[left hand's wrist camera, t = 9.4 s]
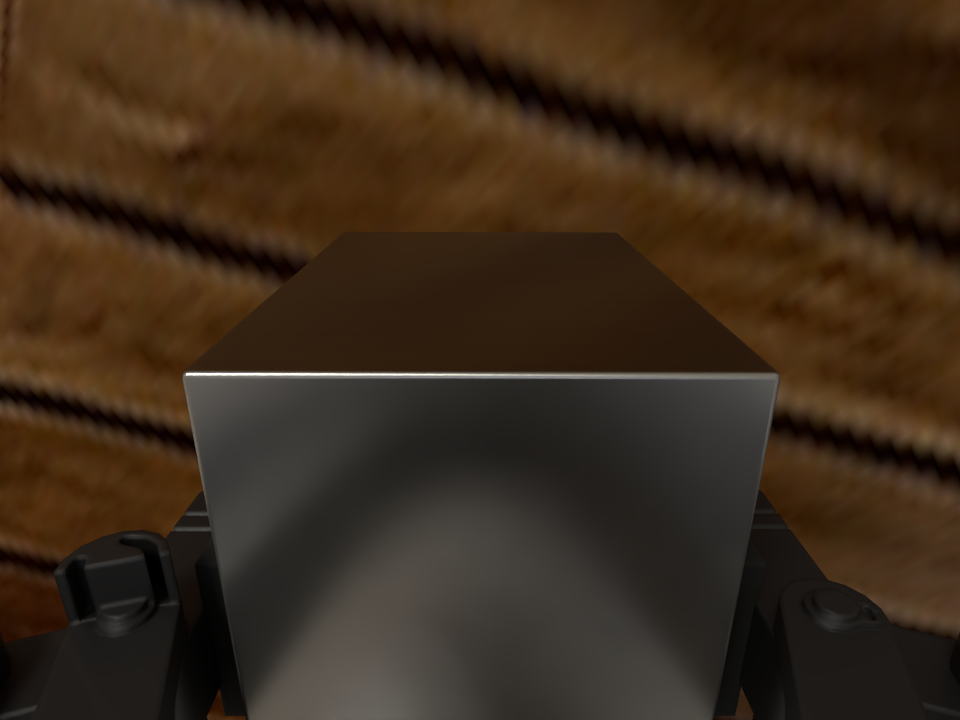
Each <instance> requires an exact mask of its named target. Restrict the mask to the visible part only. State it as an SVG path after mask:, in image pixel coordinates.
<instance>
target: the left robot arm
mask: <svg viewBox="0 0 960 720" xmlns="http://www.w3.org/2000/svg"><path fill="white" fill-rule="evenodd" d="M53 573H54V576H55V580H56V583H57V586H58V589H59V592H60V596H61V599H62V602H63V605H64V609H65V612H66V615H67V618H68V622H69V626H68V628H64V629H61V630H58V631H54V632H50V633H45V634H41V635H36V636H32V637H28V638H23V639H19V640H15V641H10V642H6V643H4V640H3V638H2V635H1V632H0V720H207V715H208V713H209V710H210V708H211V706H212V704H213V702H214V699H215V697H216V695H217V693H218V691H219V688H220V692H221V697H222V702H223V707H224V711H225V716H246V714H245V709H244V704H243V698H242V693H241V688H240V682H239V677H238V672H237V666H236V661H235V656H234V650H233V645H232V640H231V634H230V629H229V623H228V618H227V613H226V607H225V602H224V597H223V591H222V586H221V581H220V575H219V570H218V565H217V559H216V554H215V549H214V543H213V538H212V533H211V527H210V522H209V517H208V511H207V506H206V501H205V495H204V491H202V492H201V493H199V494H198V496H197V497H196V498H195V500H194V501H193V502H192V504H191V505H190V506H189V508H188V509H187V510H186V512H185V516H182V517H181V518H180V520H179V521H178V522H177V524H176V525H175V526H174V531H171V532H170V533H169V535H168V536H167V537H166V539H165V538H164V537H162V536H161V535H160V534H159V533H154V532H150V531H145V530H138V531H123V532H119V533H115V534H112V535H108V536H104V537H101V538H99V539H97V540H94V541H92V542H90V543H88V544H86V545H84V546H81V547H80V548H78V549H77V550H76V551H74V552H73V553H72V554H70V555H69V556H67V557H66V558H65V559H64V560H63V561H62V562H61V563H60V565H59V566H58V567H57V569H56V570H55V571H54V572H53ZM741 687H742V689H743V691H744V693H745V696H746V698H747V700H748V702H749V704H750V707H751V709H752V711H753V713H754V715H753V720H960V633H959V636H958V639H957V640H953V639H948V638H944V637H940V636H935V635H931V634H926V633H922V632H918V631H913V630H909V629H905V628H901V627H898V626H895V625H891V623H890V621H889V620H888V618H887V617H886V615H885V614H884V612H883V611H882V609H881V608H879V607H878V606H877V605H876V604H875V603H873V602H872V601H871V600H870V599H869V598H867V597H866V596H865V595H863V594H861V593H859V592H857V591H855V590H853V589H851V588H849V587H848V586H846V585H843V584H839V583H836V582H832V581H829V580H827V578H826V577H825V576H824V574H823V573H822V572H821V570H820V569H819V568H818V566H817V565H816V564H815V562H814V561H813V559H812V558H811V557H810V555H809V554H808V553H807V551H806V550H805V549H804V547H803V546H802V545H801V543H800V542H799V541H798V539H797V538H796V537H795V535H794V534H793V533H792V531H791V530H790V529H787V525H786V523H785V522H784V521H783V519H782V518H781V517H780V515H779V514H776V510H775V509H774V507H773V506H772V505H771V503H770V502H769V501H768V499H767V498H766V497H765V495H764V494H763V493H762V492H761V491H760V490H758V495H757V500H756V506H755V511H754V516H753V521H752V526H751V531H750V536H749V542H748V547H747V552H746V557H745V562H744V567H743V573H742V578H741V583H740V588H739V593H738V598H737V603H736V609H735V614H734V619H733V624H732V629H731V634H730V639H729V645H728V650H727V655H726V660H725V665H724V670H723V675H722V681H721V686H720V691H719V696H718V701H717V706H716V711H715V716H735V713H736V708H737V703H738V698H739V693H740V689H741Z"/></svg>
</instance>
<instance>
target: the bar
mask: <svg viewBox="0 0 960 720" xmlns="http://www.w3.org/2000/svg"><path fill="white" fill-rule="evenodd" d="M779 382H780V375H779V372H777V371H776V370H775V369H774V368H773V367H772V366H770V365H769V364H768V363H767V362H766V361H765V360H763V359H762V358H761V357H760V356H759V355H758V354H757V353H755V352H754V351H753V350H752V349H751V348H750V347H748V346H747V345H746V344H745V343H744V342H743V341H741V340H740V339H739V338H738V337H737V336H736V335H735V334H733V333H732V332H731V331H730V330H729V329H728V328H726V327H725V326H724V325H723V324H722V323H721V322H720V321H718V320H717V319H716V318H715V317H714V316H713V315H711V314H710V313H709V312H708V311H707V310H706V309H704V308H703V307H702V306H701V305H700V304H699V303H698V302H696V301H695V300H694V299H693V298H692V297H691V296H689V295H688V294H687V293H686V292H685V291H684V290H682V289H681V288H680V287H679V286H678V285H677V284H676V283H674V282H673V281H672V280H671V279H670V278H669V277H667V276H666V275H665V274H664V273H663V272H662V271H661V270H659V269H658V268H657V267H656V266H655V265H654V264H652V263H651V262H650V261H649V260H648V259H647V258H645V257H644V256H643V255H642V254H641V253H640V252H639V251H637V250H636V249H635V248H634V247H633V246H632V245H630V244H629V243H628V242H627V241H626V240H625V239H623V238H622V237H621V236H620V235H619V234H618V233H567V232H344V233H343V234H342V235H340V236H339V237H338V238H337V239H336V240H335V241H334V242H332V243H331V244H330V245H329V246H328V247H327V248H325V249H324V250H323V251H322V252H321V253H320V254H319V255H317V256H316V257H315V258H314V259H313V260H312V261H310V262H309V263H308V264H307V265H306V266H305V267H304V268H302V269H301V270H300V271H299V272H298V273H297V274H296V275H294V276H293V277H292V278H291V279H290V280H289V281H287V282H286V283H285V284H284V285H283V286H282V287H281V288H279V289H278V290H277V291H276V292H275V293H274V294H272V295H271V296H270V297H269V298H268V299H267V300H266V301H264V302H263V303H262V304H261V305H260V306H259V307H257V308H256V309H255V310H254V311H253V312H252V313H251V314H249V315H248V316H247V317H246V318H245V319H244V320H242V321H241V322H240V323H239V324H238V325H237V326H236V327H234V328H233V329H232V330H231V331H230V332H229V333H227V334H226V335H225V336H224V337H223V338H222V339H221V340H219V341H218V342H217V343H216V344H215V345H214V346H212V347H211V348H210V349H209V350H208V351H207V352H206V353H204V354H203V355H202V356H201V357H200V358H199V359H198V360H196V361H195V362H194V363H193V364H192V365H191V366H189V367H188V368H187V369H186V370H185V371H184V373H183V383H184V388H185V394H186V399H187V404H188V410H189V415H190V420H191V426H192V431H193V436H194V442H195V447H196V452H197V458H198V463H199V469H200V474H201V479H202V485H203V490H204V495H205V501H206V506H207V511H208V517H209V522H210V527H211V533H212V538H213V543H214V549H215V554H216V559H217V565H218V570H219V575H220V581H221V586H222V591H223V597H224V602H225V607H226V613H227V618H228V623H229V629H230V634H231V640H232V645H233V650H234V656H235V661H236V666H237V672H238V677H239V682H240V688H241V693H242V698H243V704H244V709H245V714H246V720H714V717H715V711H716V706H717V701H718V696H719V691H720V686H721V681H722V675H723V670H724V665H725V660H726V655H727V650H728V645H729V639H730V634H731V629H732V624H733V619H734V614H735V609H736V603H737V598H738V593H739V588H740V583H741V578H742V573H743V567H744V562H745V557H746V552H747V547H748V542H749V536H750V531H751V526H752V521H753V516H754V511H755V506H756V500H757V495H758V490H759V485H760V480H761V475H762V470H763V464H764V459H765V454H766V449H767V444H768V439H769V434H770V428H771V423H772V418H773V413H774V408H775V403H776V398H777V392H778V387H779Z"/></svg>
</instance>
